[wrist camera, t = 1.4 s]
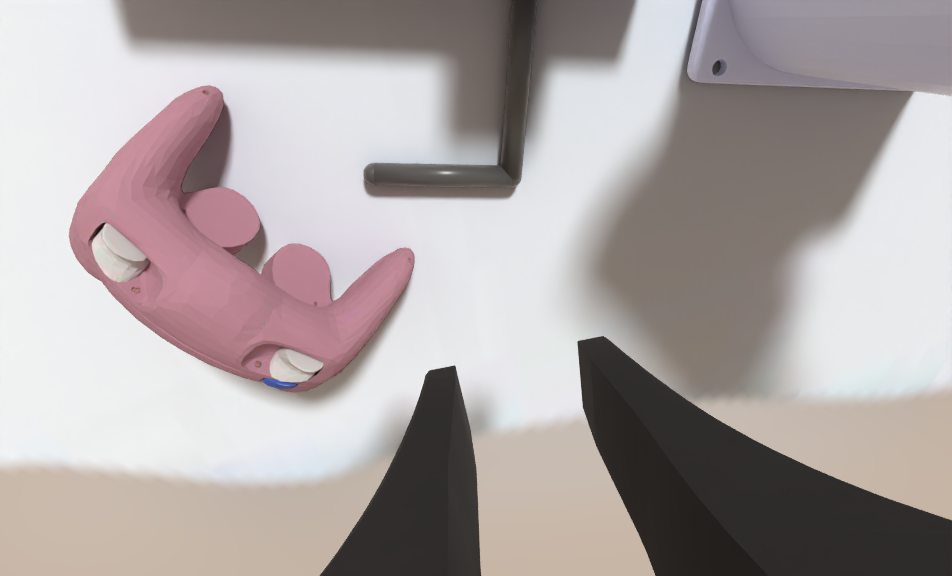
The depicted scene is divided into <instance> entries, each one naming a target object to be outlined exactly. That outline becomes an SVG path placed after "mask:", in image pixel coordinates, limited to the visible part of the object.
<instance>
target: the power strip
mask: <svg viewBox="0 0 952 576" xmlns="http://www.w3.org/2000/svg"><path fill="white" fill-rule="evenodd" d="M536 9H537V0H512V9H511V24H510V38H509V53H508V67H507V82H506V96H505V111H504V125H503V140H502V155H501V166H500V165H449V164H398V163H371V164H369V165H367V166H366V168H365V169H364V173H363V174H364V179H365V180H366V182H367V183H369V184H370V185H374V186H432V187H500V188H512V187H515V186H517V185H518V184H519V183H520V181H521V176H522V165H523V154H524V143H525V132H526V121H527V109H528V98H529V87H530V76H531V65H532V54H533V42H534V31H535V20H536Z"/></svg>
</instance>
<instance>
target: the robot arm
mask: <svg viewBox="0 0 952 576" xmlns="http://www.w3.org/2000/svg"><path fill="white" fill-rule="evenodd" d="M718 60H719V61H720V62H721V68H720V70H719V72H718V73H716V74H715V75H714V74H713V72H712V67H713V65H714V63H715V62H717V61H718ZM687 73H688V76H689V78H690V79H691V80H692V81H696V82H700V83H719V84H744V85H769V86H794V87H819V88H845V89H870V90H895V91H917V92H925V93H932V94H939V95H946V96H952V0H702V4H701V9H700V13H699V18H698V22H697V26H696V31H695V35H694V40H693V44H692V48H691V53H690V57H689V62H688V66H687ZM578 353H579V365H580V377H581V389H582V401H583V409H584V412H585V415H586V418H587V420H588V423H589V426H590V429H591V432H592V435H593V438H594V440H595V443H596V446H597V448H598V450H599V452H600V455H601V456H602V459H603V461H604V463H605V465H606V467H607V469H608V471H609V473H610V475H611V478H612V480H613V482H614V484H615V486H616V488H617V490H618V492H619V494H620V496H621V498H622V500H623V502H624V505H625V507H626V509H627V511H628V513H629V515H630V517H631V519H632V521H633V523H634V525H635V527H636V529H637V531H638V533H639V536H640V538H641V540H642V543H643V545H644V547H645V549H646V552H647V554H648V557H649V559H650V562H651V565H652V567H653V570H654V573H655V575H656V576H952V520H949V519H946V518H943V517H940V516H937V515H934V514H931V513H928V512H925V511H922V510H919V509H916V508H913V507H911V506H908V505H905V504H902V503H899V502H896V501H893V500H890V499H887V498H884V497H882V496H879V495H877V494H874V493H871V492H869V491H867V490H864V489H861V488H859V487H856V486H854V485H851V484H849V483H846V482H844V481H841V480H839V479H836V478H834V477H832V476H829V475H827V474H825V473H822V472H820V471H818V470H815V469H813V468H811V467H808V466H806V465H804V464H802V463H800V462H798V461H796V460H794V459H792V458H789V457H787V456H785V455H783V454H781V453H779V452H777V451H774V450H772V449H770V448H769V447H766V446H765V445H763V444H761V443H759V442H757V441H755V440H753V439H751V438H749V437H747V436H746V435H744V434H742V433H740V432H738V431H736V430H735V429H733V428H731V427H729V426H728V425H726V424H724V423H722V422H721V421H719V420H717V419H716V418H714V417H712V416H711V415H709V414H708V413H706V412H704V411H703V410H701V409H700V408H698V407H697V406H695V405H694V404H692V403H691V402H689V401H688V400H686V399H685V398H683V397H682V396H680V395H679V394H678V393H676V392H675V391H673V390H672V389H671V388H669V387H668V386H667V385H665V384H664V383H662V382H661V381H660V380H658V379H657V378H656V377H654V376H653V375H652V374H650V373H649V372H648V371H646V370H645V369H644V368H643V367H641V366H640V365H639V364H638V363H636V362H635V361H634V360H633V359H631V358H630V357H629V356H628V355H626V354H625V353H624V352H623V351H622V350H620V349H619V348H618V347H617V346H615V345H614V344H613V343H612V342H611V341H609V340H608V339H607V338H605V337H604V336H601V337H596V338H591V339H586V340H581V341H578ZM320 576H481V569H480V548H479V522H478V496H477V473H476V464H475V457H474V450H473V443H472V436H471V430H470V425H469V421H468V417H467V413H466V409H465V405H464V401H463V396H462V392H461V388H460V384H459V380H458V376H457V371H456V367H455V366H450V367H445V368H440V369H435V370H430V371H429V372H428V373H427V374H426V376H425V380H424V384H423V387H422V390H421V394H420V397H419V400H418V402H417V405H416V408H415V411H414V413H413V416H412V418H411V421H410V423H409V425H408V428H407V430H406V433H405V435H404V437H403V440H402V442H401V444H400V446H399V448H398V450H397V453H396V455H395V457H394V459H393V461H392V463H391V465H390V467H389V469H388V471H387V473H386V475H385V477H384V479H383V480H382V482H381V484H380V486H379V488H378V489H377V491H376V493H375V495H374V497H373V498H372V500H371V501H370V503H369V505H368V507H367V508H366V510H365V511H364V513H363V515H362V516H361V518H360V519H359V521H358V522H357V524H356V525H355V527H354V528H353V530H352V532H351V533H350V534H349V536H348V538H347V539H346V541H345V542H344V543H343V545H342V546H341V548H340V549H339V551H338V552H337V554H336V555H335V556H334V558H333V559H332V560H331V562H330V563H329V564H328V566H327V567H326V568H325V570H324V571H323V572H322V573H321V575H320Z"/></svg>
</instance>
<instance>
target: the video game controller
mask: <svg viewBox="0 0 952 576" xmlns="http://www.w3.org/2000/svg"><path fill="white" fill-rule="evenodd" d="M223 104H224V100H223V94H222V92H221V91H220V90H219V89H218V88H216V87H213V86H201V87H198V88H196V89H193V90H191V91H188V92H186V93H184V94H182V95H181V96H179V97H177V98H176V99H175V100H173V101H172V102H171V103H170V104H169V105H168V106H167V107H166V108H165V109H163V110H162V111H161V112H160V113H159V114H158V115H157V116H156V117H154V118H153V119H152V120H151V121H150V122H149V123H148V124H147V125H146V126H144V127H143V128H142V129H141V130H140V131H139V132H138V133H137V134H136V135H134V136H133V137H132V138H131V139H130V140H129V141H128V142H127V143H126V144H125V145H124V146H123V147H122V148H121V149H120V150H119V151H118V152H117V153H116V154H115V156H114V157H113V158H112V160H111V161H110V162H109V164H108V165H107V166H106V168H105V169H104V171H103V172H102V173H101V174H100V175H99V176H98V178H97V179H96V180H95V181H94V182H93V183H92V185H91V186H90V187H89V188H88V190H87V191H86V192H85V194H84V195H83V197H82V198H81V199H80V201H79V202H78V204H77V207H76V210H75V213H74V216H73V219H72V223H71V226H70V231H69V238H70V244H71V247H72V250H73V252H74V254H75V257H76V258H77V260H78V261H79V262H80V264H81V265H82V266H83V267H84V269H85V270H86V271H87V272H88V273H89V274H91V275H92V276H94V277H95V278H97V279H98V280H100V281H102V282H103V284H104V285H105V286H106V288H107V289H108V290H109V292H110V293H111V294H112V295H113V296H114V297H115V298H116V299H117V300H118V301H119V302H120V303H121V304H122V305H123V306H124V307H125V308H126V309H127V310H128V311H129V312H130V313H131V314H132V315H133V316H134V317H135V318H136V319H138V320H139V321H140V322H141V323H143V324H144V325H145V326H147V327H148V328H149V329H151V330H152V331H153V332H155V333H156V334H157V335H159V336H160V337H162V338H163V339H165V340H166V341H168V342H170V343H171V344H173V345H174V346H176V347H177V348H179V349H181V350H182V351H184V352H186V353H188V354H190V355H192V356H194V357H196V358H198V359H200V360H201V361H203V362H205V363H207V364H209V365H212V366H214V367H217V368H219V369H222V370H224V371H227V372H230V373H232V374H235V375H238V376H241V377H243V378H247V379H251V380H255V381H260V382H264V383H265V384H267V385H269V386H272V387H275V388H277V389H280V390H283V391H289V392H301V391H307V390H309V389H312V388H314V387H316V386H318V385H320V384H322V383H324V382H325V381H327V380H329V379H331V378H333V377H334V376H336V375H338V374H339V373H341V372H342V370H343V369H344V368H345V367H346V366H347V365H348V364H349V363H350V362H351V361H352V360H353V359H354V358H355V357H356V355H357V354H358V353H359V352H360V350H361V349H362V348H363V347H364V346H365V344H366V343H367V342H368V340H369V339H370V338H371V337H372V335H373V334H374V333H375V331H376V330H377V328H378V327H379V326H380V324H381V323H382V321H383V320H384V318H385V317H386V316H387V314H388V313H389V311H390V310H391V308H392V307H393V305H394V304H395V302H396V301H397V299H398V298H399V296H400V295H401V293H402V292H403V290H404V289H405V287H406V285H407V284H408V282H409V280H410V277H411V274H412V271H413V268H414V253H413V252H412V250H411V249H409V248H400V249H397V250H395V251H394V252H392V253H390V254H388V255H386V256H385V257H383V258H382V259H380V260H379V261H378V262H376V263H375V264H374V265H373V266H372V267H370V268H369V269H368V270H367V271H366V272H365V273H364V274H363V275H362V276H361V277H359V278H358V279H357V280H356V281H355V282H354V283H353V284H352V285H351V286H350V287H349V288H348V289H347V290H346V291H345V293H344V294H343V295H342V296H341V297H340V298H339V299H337V300H335V301H332V300H331V298H330V271H329V267H328V264H327V262H326V261H325V259H324V258H323V257H322V256H321V255H320V254H319V253H318V252H317V251H315V250H314V249H312V248H310V247H308V246H305V245H301V244H288V245H286V246H284V247H282V248H281V249H280V250H279V251H278V252H277V253H275V254H274V255H273V256H272V257H271V258H270V259H269V260H268V261H267V262H266V264H265V265H264V267H263V269H262V274H259V273H258V272H257V271H255V270H254V269H252V268H251V267H250V266H248V265H247V264H245V263H244V262H242V261H241V260H239V259H238V258H236V257H235V256H233V255H234V254H235V253H237V252H238V251H240V250H241V249H242V248H243V247H244V246H245V245H247V244H248V243H249V242H250V241H251V240H252V239H253V238H254V237H255V236H256V234H257V233H258V231H259V227H260V221H259V216H258V214H257V212H256V210H255V208H254V206H253V205H252V204H251V203H250V202H249V201H248V200H247V199H246V198H245V197H244V196H242V195H241V194H239V193H237V192H236V191H234V190H231V189H228V188H223V187H216V188H209V189H205V190H201V191H197V192H189V193H184V192H182V189H181V185H182V182H183V179H184V177H185V174H186V171H187V169H188V167H189V165H190V164H191V162H192V161H193V159H194V158H195V156H196V155H197V153H198V152H199V150H200V149H201V147H202V146H203V144H204V143H205V141H206V140H207V138H208V136H209V135H210V133H211V132H212V130H213V128H214V126H215V124H216V122H217V120H218V119H219V117H220V114H221V111H222V108H223Z"/></svg>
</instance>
